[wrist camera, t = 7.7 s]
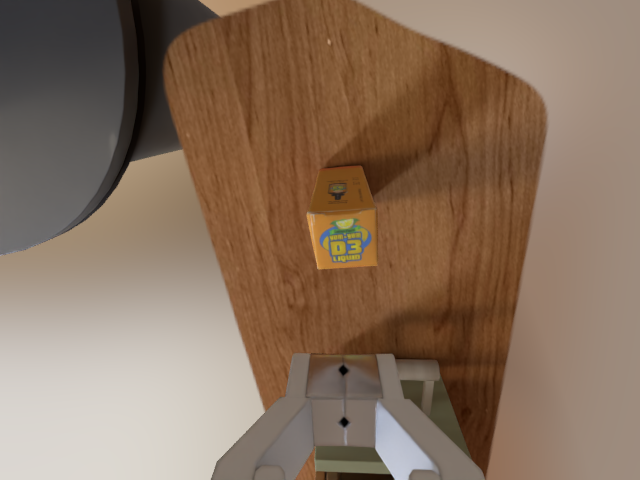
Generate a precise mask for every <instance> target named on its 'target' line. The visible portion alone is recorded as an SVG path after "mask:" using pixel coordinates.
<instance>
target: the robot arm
mask: <svg viewBox="0 0 640 480" xmlns="http://www.w3.org/2000/svg"><path fill="white" fill-rule="evenodd" d="M344 444H345V446H354V447H372V448H375V450H376V451H377V453H378V454H379V456H380V457H381V459H382V460H383V462H384V463H385V465H386V467H387V468H388V470H389V471H390V473H391V474H392V476H393V477H394V479H395V480H485V477H484V475H483V472H482V470H481V469H480V468H479V467H478V466H477V465H476V464H475V463H474V462H473V461H472V460H471V459H470V458H469V457H468V456H467V455H466V454H465V453H464V452H463V451H462V450H461V449H460V448H459V447H458V446H457V445H456V444H455V443H454V442H453V441H452V440H451V439H450V438H449V437H448V436H447V435H446V434H445V433H444V432H443V431H442V430H440V429H439V428H438V427H437V426H436V425H435V424H434V423H433V422H432V421H431V420H430V419H429V418H428V417H427V416H426V415H425V414H424V413H423V412H422V411H421V410H420V409H419V408H418V407H417V406H416V405H415V404H414V403H413V402H412V401H411V400H410V399H404V395H403V391H402V387H401V383H400V378H399V374H398V370H397V366H396V361H395V357H394V355H393V354H376V355H375V354H319V353H311V354H307V353H294V355H293V357H292V362H291V367H290V373H289V378H288V384H287V389H286V395H285V397H280V398H279V399H278V400H277V401H276V402H275V403H274V404H273V405H272V406H271V407H270V408H269V409H268V410H267V411H266V412H265V413H264V414H263V415H262V416H261V417H260V418H259V419H258V420H257V421H256V422H255V424H253V426H251V428H249V430H248V431H247V432H246V433H245V434H244V435H243V436H242V437H241V438H240V439H239V440H238V441H237V442H236V443H235V444H234V445H233V446H232V447H231V448H230V449H229V450H228V451H227V452H226V453H225V454H224V455H223V456H222V457H221V458H220V459H219V460H218V461H217V463H216V466H215V469H214V472H213V475H212V478H211V480H295V478H296V476H297V475H298V473H299V472H300V470H301V468H302V467H303V465H304V464H305V462H306V460H307V459H308V457H309V456H310V454H311V452H312V451H313V449H314V446H344Z"/></svg>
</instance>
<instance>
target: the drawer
mask: <svg viewBox="0 0 640 480" xmlns="http://www.w3.org/2000/svg"><path fill="white" fill-rule="evenodd" d="M395 361H396V366H397V370H398V374H399V378H400V383H401V387H402V391H403V395H404V399H410V400H411V401H412V402H413V403H414V404H415V405H416V406H417V407H418V408H419V409H420V410H421V411H422V412H423V413H424V414H425V415H426V416H427V417H428V418H429V419H430V420H431V421H432V422H433V423H434V424H435V425H436V426H437V427H438V428H439V429H440V430H442V431H443V432H444V433H445V434H446V435H447V436H448V437H449V438H450V439H451V440H452V441H453V442H454V443H455V444H456V445H457V446H458V447H459V448H460V449H461V450H462V451H463V452H464V453H465V454H466V455H467V456H468V457H469V458H470V459H471V456H470V453H469V451H468V448H467V445H466V443H465V440H464V437H463V434H462V432H461V429H460V426H459V424H458V421H457V418H456V416H455V413H454V410H453V407H452V405H451V402H450V399H449V397H448V394H447V391H446V388H445V386H444V383H443V380H442V378H441V375H440V369H439V364H438V362H437V360H421V359H395ZM471 460H472V459H471ZM315 470H316V471H324V472H327V480H395V479H394V477H393V476H392V474H391V473H390V471H389V470H388V468H387V467H386V465H385V463H384V462H383V460H382V459H381V457H380V456H379V454H378V453H377V451H376V450H375V448H372V447H354V446H345V444H344V446H316V448H315Z"/></svg>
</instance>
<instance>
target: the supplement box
mask: <svg viewBox="0 0 640 480" xmlns="http://www.w3.org/2000/svg"><path fill="white" fill-rule="evenodd" d="M307 220H308V224H309V229H310V234H311V239H312V244H313V248H314V253H315V257H316V262H317V267H318V269H332V268H344V267H361V266H376V265H378V221H377V208H376V206H375V203H374V200H373V198H372V195H371V192H370V189H369V186H368V183H367V180H366V177H365V174H364V171H363V167H362V166H360V165H357V166H345V167H334V168H325V169H320V170H319V173H318V176H317V180H316V184H315V187H314V191H313V195H312V199H311V202H310V206H309V209H308V211H307Z"/></svg>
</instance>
